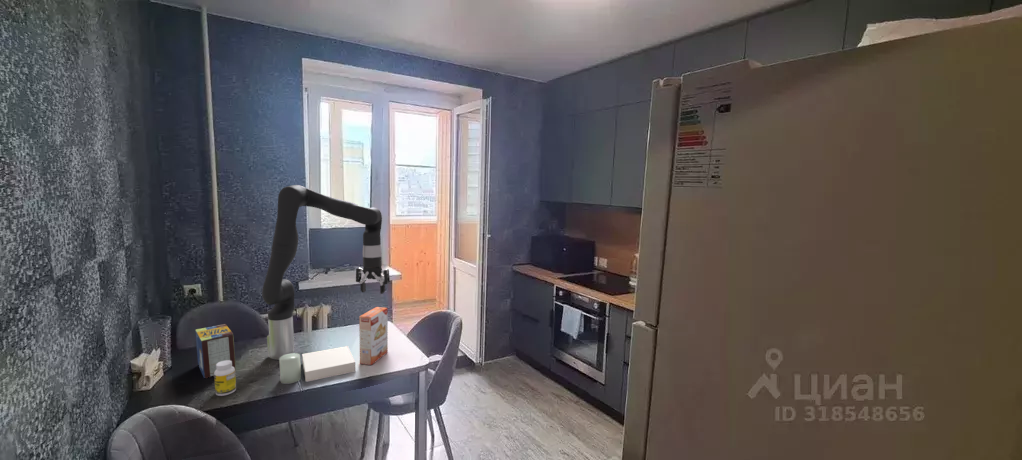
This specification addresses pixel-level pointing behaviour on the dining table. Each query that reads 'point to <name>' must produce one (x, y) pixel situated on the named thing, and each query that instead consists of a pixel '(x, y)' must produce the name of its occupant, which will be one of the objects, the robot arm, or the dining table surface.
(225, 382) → the pill bottle
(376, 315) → the cracker box
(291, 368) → the pale green rounded block
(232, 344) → the protein box
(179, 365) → the dining table surface
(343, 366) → the block
